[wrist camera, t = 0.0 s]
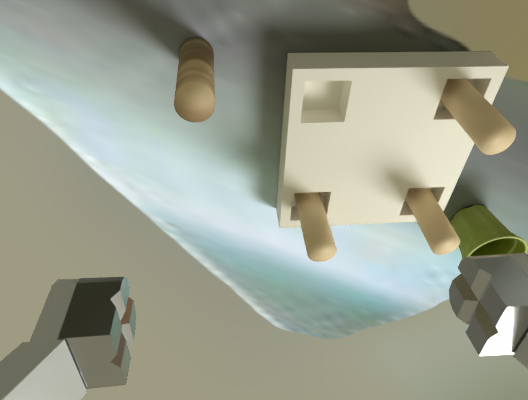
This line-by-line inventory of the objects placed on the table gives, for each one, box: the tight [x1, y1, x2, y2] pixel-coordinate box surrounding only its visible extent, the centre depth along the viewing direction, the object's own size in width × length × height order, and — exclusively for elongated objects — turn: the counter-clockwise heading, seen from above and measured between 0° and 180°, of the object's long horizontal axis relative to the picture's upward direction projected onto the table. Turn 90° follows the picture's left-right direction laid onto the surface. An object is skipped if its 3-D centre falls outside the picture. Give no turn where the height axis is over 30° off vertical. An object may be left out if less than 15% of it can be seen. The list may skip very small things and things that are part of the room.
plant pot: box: [451, 205, 528, 260], centre depth 65 cm, size 9×9×9 cm
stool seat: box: [276, 51, 516, 262], centre depth 51 cm, size 24×24×12 cm
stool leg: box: [174, 37, 215, 122], centre depth 42 cm, size 4×4×11 cm
